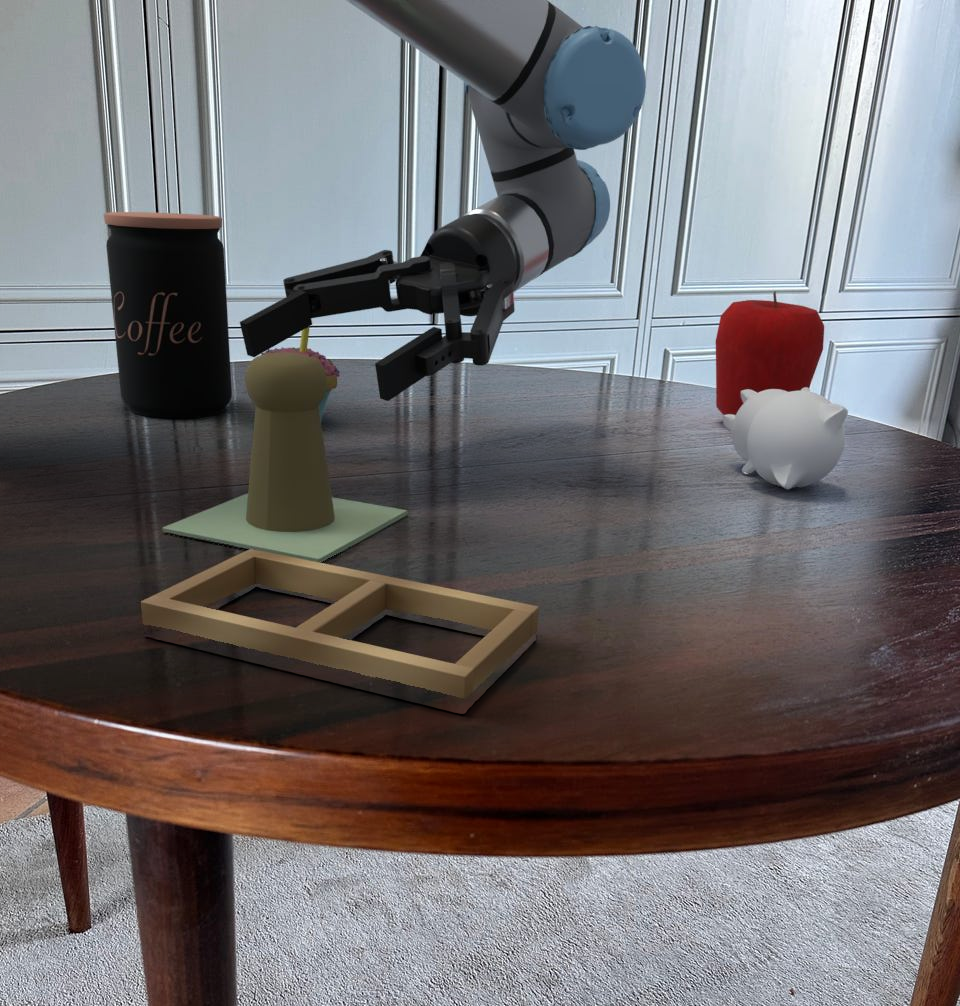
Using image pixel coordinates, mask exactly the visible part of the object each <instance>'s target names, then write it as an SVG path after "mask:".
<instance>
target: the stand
mask: <svg viewBox="0 0 960 1006" xmlns="http://www.w3.org/2000/svg"><path fill="white" fill-rule="evenodd" d="M254 584H261V585H264V586H269V587H273V588H276V589H281V590H287V591H292V592H298V593H304V594H307V595H313V596H316V597H317V596H319V597H322V598H328V599H333V600H338V601H337V602H335V603H334V604H330V605H329V606H328V607H326V608H324V609H322V610H320V611H319V612H318V613H316V614H315V615H313V616H311V617H310V618H309V619H307V620H305V621H303V622H302V623H300V624H299V625H298V626H296V627H294V626H290V625H286V624H281V623H277V622H272V621H267V620H263V619H260V618H254V617H250V616H245V615H242V614H237V613H233V612H229V611H224V610H219V609H217V610H216V609H211V608H207V607H204V606H206V605H208V604H210V603H213V602H215V601H218V600H219V599H222V598H225V597H227V596H229V595H231V594H233V593H236V592H239V591H240V590H243V589H244V588H247V587H249V586H251V585H254ZM140 608H141V609H140V610H141V616H142V617H141V618H142V625H143V624H144V625H151V626H156V627H162V628H167V629H172V630H176V631H180V632H183V633H188V634H191V635H194V636H196V635H197V636H200V637H204V638H206V639H207V638H208V639H212V640H215V641H218V642H219V641H220V642H224V643H229V644H233V645H236V646H239V647H241V646H242V647H245V648H248V649H250V648H251V649H255V650H258V651H261V652H262V651H263V652H268V653H271V654H275V655H280V656H285V657H288V658H290V657H291V658H295V659H299V660H302V661H306V662H310V663H314V664H317V665H319V664H320V665H324V666H328V667H332V668H336V669H342V670H343V669H344V670H348V671H352V672H356V673H360V674H361V675H365V676H370V677H374V678H375V677H378V678H382V679H386V680H391V681H396V682H400V683H402V684H406V685H410V686H415V687H420V688H425V689H427V690H431V691H436V692H441V693H443V694H447V695H452V696H456V697H459V698H466V697H467V696H468V695H469V694H470V693H471V692H473V691H474V690H475V689H476V688H477V687H478V686H479V685H480V684H481V683H483V682H484V681H485V680H486V679H487V678H488V677H489V676H490V675H491V674H492V673H493V672H494V671H496V670H497V668H498V667H499V666H500V665H501V664H503V663H504V662H505V661H506V660H507V659H508V658H509V657H511V656H512V655H513V653H515V652H516V651H517V650H518V649H519V648H520V647H522V645H523V644H525V643H526V642H527V641H528V640H529V639H530V637H532V636H533V635H534V634H536V632H537V633H538V626H539V625H538V623H539V610H540V608H539V605H534V604H528V603H523V602H519V601H515V600H509V599H503V598H498V597H494V596H489V595H484V594H478V593H474V592H470V591H469V592H468V591H463V590H458V589H453V588H448V587H444V586H439V585H434V584H429V583H425V582H424V583H422V582H420V581H419V582H418V581H414V580H408V579H403V578H400V577H394V576H388V575H383V574H379V573H373V572H369V571H363V570H358V569H354V568H348V567H345V566H338V565H334V564H329V563H325V562H323V563H319V562H314V561H309V560H304V559H299V558H294V557H289V556H284V555H279V554H274V553H269V552H264V551H259V550H254V549H249V550H244V551H242V552H241V553H239V554H237V555H234V556H232V557H230V558H228V559H226V560H224V561H222V562H220V563H218V564H216V565H214V566H211V567H209V568H207V569H205V570H203V571H201V572H199V573H197V574H195V575H193V576H191V577H189V578H186V579H184V580H183V581H180V582H178V583H176V584H174V585H172V586H170V587H168V588H166V589H164V590H161V591H160V592H158V593H156V594H153V595H152V596H150V597H147V598H145V599H143V600H141V601H140ZM385 609H387V610H393V611H399V612H404V613H411V614H416V615H423V616H428V617H432V618H436V619H437V618H440V619H444V620H449V621H453V622H458V623H463V624H467V625H472V626H475V627H479V628H483V629H488V630H492V631H491V632H489V633H488V634H487V635H486V636H485V637H482V639H481V640H479V641H478V642H477V643H476V644H475V645H474V646H473V647H472V648H470V649H469V650H468V651H467V652H466V653H465V654H463V656H462V657H461V658H460V659H458V660H457V661H456V662H455V663H452V662H448V661H445V660H444V661H443V660H439V659H435V658H430V657H426V656H422V655H417V654H414V653H413V654H412V653H409V652H404V651H400V650H395V649H391V648H387V647H383V646H377V645H375V644H374V645H373V644H370V643H364V642H360V641H356V640H347V639H343V638H340V637H342V636H344V635H346V634H347V633H349V632H351V631H352V630H353V629H356V628H357V627H359V626H360V625H361V624H364V623H366V622H367V621H368V620H370V619H372V618H374V617H375V616H377V615H378V614H380V613H381V612H382V611H384V610H385Z"/></svg>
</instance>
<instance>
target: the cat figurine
mask: <svg viewBox="0 0 960 1006" xmlns="http://www.w3.org/2000/svg"><path fill="white" fill-rule="evenodd" d="M810 389H811V388H807V387H805V388H802V389H801V391H791V392H787V391H784V390H780V389H768V390H764V391H761V392H758V393H757V392H755V391H753V390H750V389H746V390H742V391H741V398H742V401H743V403H744V404H743V405H742V406H741V407H740V409H739V410H738V412H737V414H736V415H733V414H727V415H723V414H722V424H723V425H724V427H725V428H726V429H727V430H729V431H730V432H731V440H732V444H733V447H734V449H735V452H736V453H737V454H738V456H739V457H740V458H741V459H742V460H743V461H745V464H744V465H743V467H742V469H741V471H742V473H743V472H746V473H750V474H752V473H754V472H756V473H757V474H758V475H759V476H760V477H761V478H762V479H764V480H765V481H766V482H768V483H770V484H772V485H774V486H776V485H777V487H780V486H781V487H780V488H783V489H785V490H791V489H793V488H792V487H799V488H805V487H808V486H811V485H814V484H815V483H818V482H819V481H821V480H822V479H824V478H825V477H827V475H829V474H830V473H831V472H832V471H833V470H834V468H835V467H836V466H837V464H838V463H839V461H840V460H841V457H842V455H843V452H844V449H845V443H846V430H845V429H846V428H845V423H844V422H845V421H846V419H847V417H848V414H849V410H848V408H846V407H845V406H844V405H842V404H838V403H832V402H831V401H830V400H829V399H828V398H826V397H825V396H823V395H821V394H818V393H817V392H813V391H811V390H810Z"/></svg>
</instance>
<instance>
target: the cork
mask: <svg viewBox="0 0 960 1006" xmlns="http://www.w3.org/2000/svg"><path fill="white" fill-rule="evenodd" d="M260 355H261V356H260ZM260 355H258V356H256V357H253V359H252V360H251V361H250V363H249V364H248V367H247V368H246V372H245V388H246V391H247V395H248V398H249V399H250V400H251V402H253V404H254V406H255V410H254V421H253V422H254V424H253V435H252V443H251V446H252V447H251V454H250V455H251V457H250V466H249V467H250V468H249V477H248V478H249V480H248V491H247V493H248V501H247V512H246V521H247V522H248V523H249V524H250V525H252V526H254V527H256V528H260V529H264V530H270V531H279V532H299V531H310V530H315V529H319V528H323V527H325V526H328V525H330V524H331V523H332V522H334V519H335V515H334V508H333V501H332V497H333V496H332V495H333V494H332V489H331V483H330V482H331V481H330V475H329V469H328V461H327V455H326V454H327V453H326V448H325V442H324V441H325V440H324V436H323V435H324V434H323V428H322V419H321V420H320V414H319V407H318V406H319V405H320V403H321V402H322V400H323V399H324V396H325V392H326V387H327V378H326V374H325V370H324V368H323V366H322V364H321V363H320V362H319V361H318V360H316V359H315V358H313V357H310V356H307V355H303V354H298V353H290V352H279V353H270V354H265V355H262V354H260Z"/></svg>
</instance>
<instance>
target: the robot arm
mask: <svg viewBox="0 0 960 1006" xmlns="http://www.w3.org/2000/svg"><path fill="white" fill-rule="evenodd" d="M345 1H347V3H349V4H350V5H352V6H354V7H355V8H356V9H358V10H359V11H361V12H362V13H364V14H365V15H367V16H368V17H369V18H371V19H372V20H374V21H375V22H377V23H378V24H379V25H381V26H383V27H384V28H386V29H387V30H388V31H390V32H391V33H393V34H394V35H396V36H397V37H398V38H400V39H402V40H403V41H405V42H406V44H408V45H410V46H411V47H413V48H414V49H415V50H418V51H419V52H420V53H422V54H423V55H425V56H426V57H428V58H429V59H431V60H432V61H434V62H435V63H436V64H438V65H439V66H440V67H442V68H444V69H445V70H446V71H448V72H449V73H451V74H453V75H454V76H456V77H457V78H458V79H459V80H461V81H463V84H464V93H465V95H466V97H467V98H468V101H469V104H470V108H471V112H472V115H473V117H474V121H475V125H476V128H477V131H478V134H479V138H480V141H481V144H482V148H483V151H484V154H485V157H486V160H487V161H486V162H487V163H488V167H489V171H490V175H491V178H492V181H493V182H492V183H493V185H494V189H495V192H496V197H494V198H492V199H490V200H489V201H487V202H485V203H483V204H482V205H480V206H477V207H476V208H474V209H472V210H471V211H468V212H466V213H465V214H463V215H461V216H459V217H458V218H456V219H454V220H452V221H450V222H449V223H447V224H445V225H443V226H440V227H439V228H437V229H436V230H435V231H434V232H433V233H432V234H431V235H430V237H429V238H428V239H427V241H426V243H425V246H424V248H423V249H422V252H421V254H420V255H419V256H415V257H411V258H409V259H407V260H405V261H402V262H397V261H395V260H394V254H393V250H390V249H383V250H380V251H379V252H376V253H374V254H371V255H369V256H367V257H363V258H360V259H355V260H351V261H348V262H343V263H340V264H336V265H333V266H328V267H324V268H320V269H317V270H312V271H309V272H305V273H300V274H296V275H293V276H288V277H286V278H283V280H282V282H283V288H284V293H285V297H284V298H282V299H280V300H278V301H276V302H275V303H273V304H271V305H269V306H266V307H265V308H263V309H261V310H260V311H258V312H256V313H254V314H252V315H250V316H248V317H246V318H245V319H243V320H241V321H239V324H240V330H241V335H242V338H243V343H244V347H245V351H246V355H247V356H249V357H252V358H256V357H258V356H260V355H262V354H261V353H265V352H266V351H268V349H269V350H271V349H272V348H274V347H275V346H277V345H279V344H280V343H282V342H285V341H287V340H288V339H289V338H291V337H293V336H294V335H296V334H299V333H300V332H302V330H304V329H305V328H309V326H310V327H311V326H312V325H313V320H312V319H317V318H322V317H323V318H324V317H330V316H334V315H341V314H342V315H343V314H346V313H353V312H360V311H367V310H373V309H379V308H381V309H383V311H385V312H386V313H390V312H397V311H403V310H414V311H415V310H416V311H419V312H421V313H423V314H426V315H428V316H429V315H430V316H432V315H433V314H437V315H439V314H443V320H444V321H443V322H444V331H445V332H444V333H445V335H443V329H442V328H440V327H436V326H432V327H430V328H429V329H427V330H426V331H424V332H423V333H421V334H419V335H418V336H416V337H415V338H413V339H411V340H410V341H408V342H407V343H405V344H403V345H402V346H400V347H399V348H397V349H395V350H394V351H393V352H391V353H389V354H388V355H386V356H384V357H383V358H381V359H380V360H378V361H377V362H375V363H374V365H375V372H376V380H377V386H378V392H379V393H378V394H379V399H380V400H384V401H386V402H389V401H391V400H392V399H394V398H395V397H397V396H398V395H400V394H401V393H403V392H404V391H406V390H408V389H409V388H410V387H412V386H413V385H415V384H416V383H418V382H419V381H421V380H422V379H424V378H425V377H430V376H432V375H435V374H436V373H438V372H440V371H441V370H443V369H444V368H446V367H447V366H449V365H451V364H460V363H462V362H464V361H465V359H470V360H471V359H472V364H473V365H475V366H486V365H488V363H489V362H490V360H491V357H492V354H493V351H494V348H495V346H496V344H497V340H498V337H499V334H500V332H501V329H502V326H503V324H504V321H505V320H507V318H509V317H510V316H511V315H512V314H514V313H515V292H516V291H518V290H520V289H521V288H523V287H524V286H526V285H527V284H529V283H531V282H532V281H534V280H535V279H537V278H539V277H540V276H542V275H543V274H544V273H546V272H548V271H549V270H551V269H554V267H556V266H558V265H559V264H561V263H563V262H564V261H566V260H568V259H569V258H572V257H575V256H577V255H579V253H582V251H583V250H584V249H585V248H586V247H587V246H589V245H590V244H591V243H592V242H594V240H595V239H596V238H598V237H599V236H600V235H601V233H602V232H603V231H604V229H605V228H606V226H607V223H608V221H609V217H610V213H611V197H610V192H609V189H608V186H607V184H606V182H605V181H604V180H603V178H602V177H601V176H600V174H599V173H598V171H597V169H596V168H594V166H593V165H591V164H589V163H587V162H585V161H583V160H579V159H578V158H577V154H576V152H575V150H578V151H587V150H589V149H592V148H596V147H598V146H601V145H607V144H610V143H612V142H614V141H617V139H619V138H621V137H622V136H623V135H625V134H626V133H627V132H628V131H629V129H631V127H632V126H633V125H634V123H635V122H636V120H637V119H638V117H639V115H640V111H641V109H642V107H643V105H644V101H645V96H646V90H647V89H646V88H647V77H646V70H645V66H644V63H643V60H642V57H641V55H640V53H639V50H638V49H637V48H636V46H635V45H634V43H633V42H632V41H631V40H630V39H629V38H628V37H626V35H624V34H623V33H621V32H619V31H617V30H615V29H612V28H606V27H600V26H597V25H595V26H591V25H587V26H582V25H581V24H580V23H578V22H577V21H576V20H575V19H574V18H572V17H571V16H570V15H568V14H566V13H565V12H564V11H563V10H561V9H560V8H559V7H557V6H555V5H554V4H553V3H552V2H550V1H549V0H345ZM393 283H395V291H396V298H392V296H391V288H390V287H391V284H393ZM462 316H463V317H475V318H474V321H473V324H472V326H471V328H470V332H464V331H463V328H462V327H463V326H462V318H461V317H462ZM309 329H310V328H309Z"/></svg>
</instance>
